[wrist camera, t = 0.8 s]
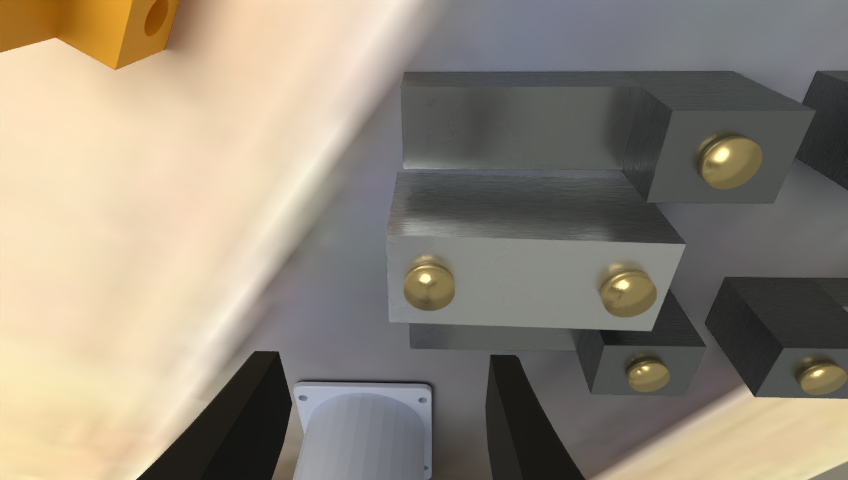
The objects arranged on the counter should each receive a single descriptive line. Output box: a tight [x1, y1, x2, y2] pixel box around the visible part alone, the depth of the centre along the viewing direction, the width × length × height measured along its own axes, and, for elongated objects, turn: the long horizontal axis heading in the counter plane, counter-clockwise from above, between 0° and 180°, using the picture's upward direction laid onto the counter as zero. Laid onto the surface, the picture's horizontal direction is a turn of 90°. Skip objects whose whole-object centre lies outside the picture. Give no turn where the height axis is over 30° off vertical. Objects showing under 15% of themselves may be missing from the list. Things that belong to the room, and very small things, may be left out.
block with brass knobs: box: [386, 172, 686, 331], centre depth 18 cm, size 4×10×6 cm, turn 89°
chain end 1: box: [401, 71, 816, 396], centre depth 18 cm, size 12×12×5 cm
